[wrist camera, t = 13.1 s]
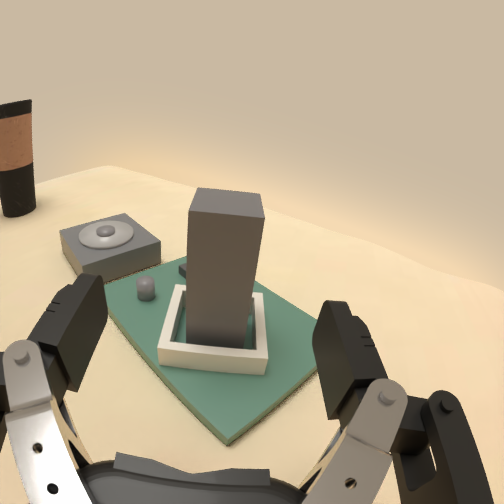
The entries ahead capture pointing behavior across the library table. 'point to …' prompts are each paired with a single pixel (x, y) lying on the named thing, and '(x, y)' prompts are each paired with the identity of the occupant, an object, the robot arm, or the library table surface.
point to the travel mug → (16, 159)
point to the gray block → (221, 265)
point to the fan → (110, 247)
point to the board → (218, 389)
